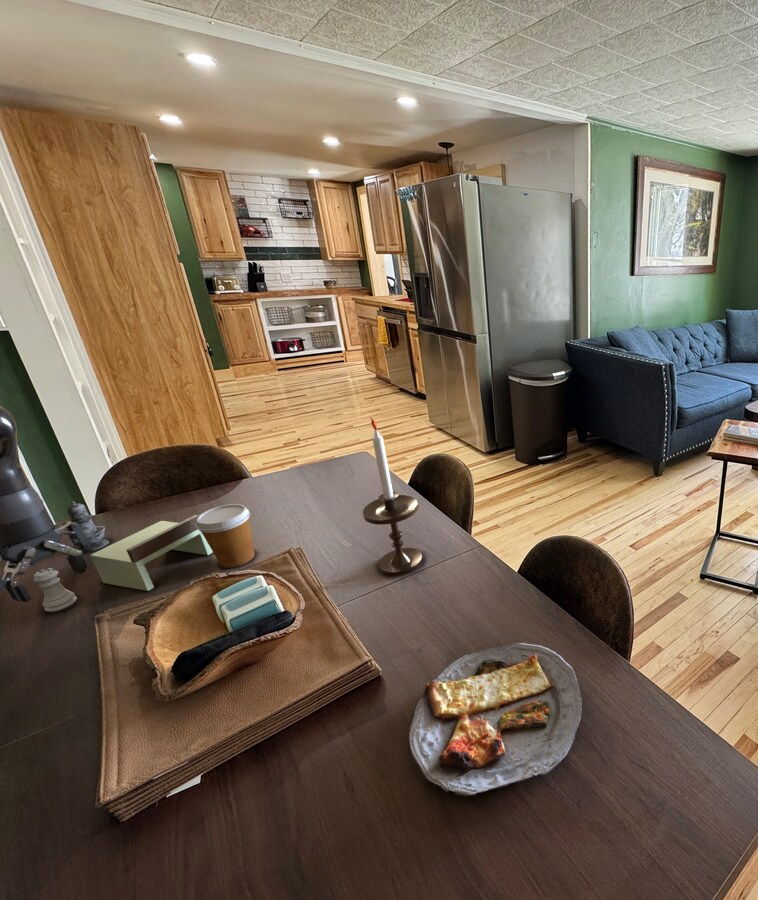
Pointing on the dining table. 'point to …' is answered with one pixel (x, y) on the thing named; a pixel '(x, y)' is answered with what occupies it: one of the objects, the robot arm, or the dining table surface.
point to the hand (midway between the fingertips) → (53, 585)
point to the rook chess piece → (54, 591)
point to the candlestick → (392, 516)
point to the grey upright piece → (87, 526)
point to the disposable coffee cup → (228, 533)
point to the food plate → (495, 718)
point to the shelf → (147, 552)
